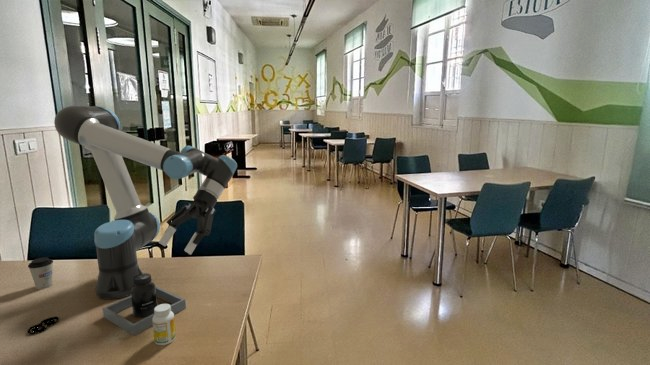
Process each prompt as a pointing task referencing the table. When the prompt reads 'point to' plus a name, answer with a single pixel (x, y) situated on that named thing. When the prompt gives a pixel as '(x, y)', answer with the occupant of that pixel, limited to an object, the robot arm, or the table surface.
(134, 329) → the square frame
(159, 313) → the supplement bottle
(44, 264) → the coffee cup
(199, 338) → the table surface
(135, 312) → the supplement bottle
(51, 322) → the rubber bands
